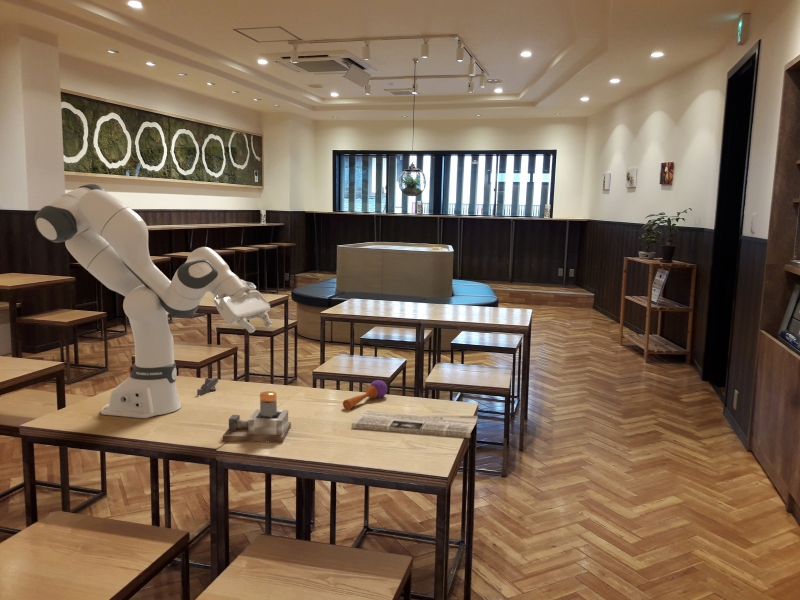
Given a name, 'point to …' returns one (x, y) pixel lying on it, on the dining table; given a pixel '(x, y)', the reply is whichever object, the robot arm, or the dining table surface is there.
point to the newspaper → (416, 423)
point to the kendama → (368, 394)
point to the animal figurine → (208, 386)
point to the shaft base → (258, 428)
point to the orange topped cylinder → (268, 405)
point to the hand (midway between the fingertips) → (261, 328)
